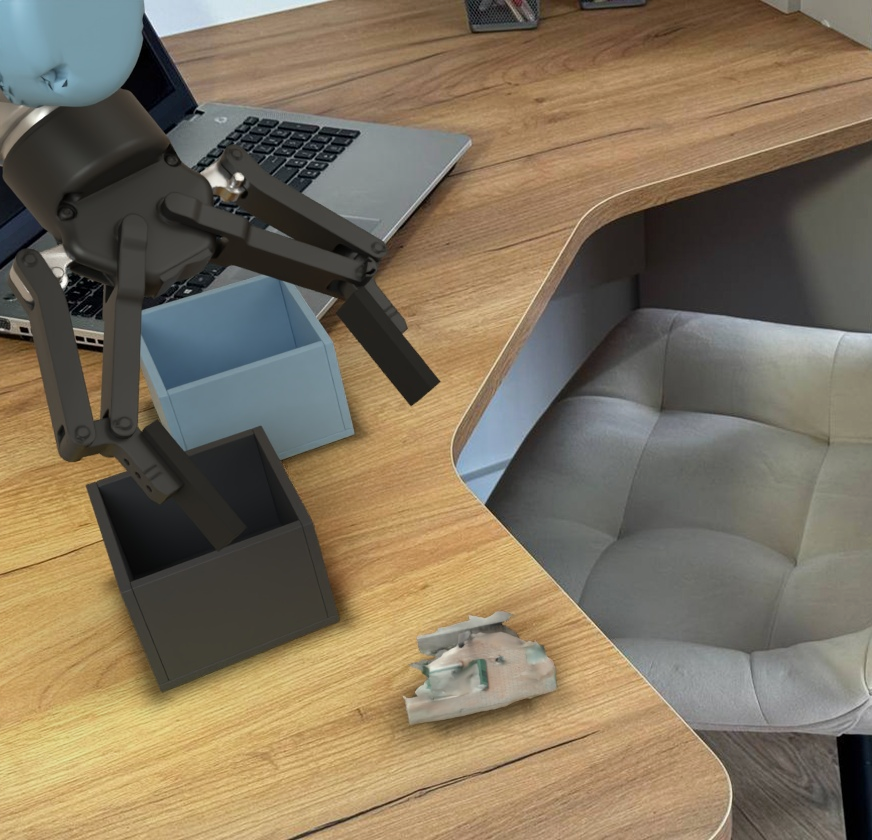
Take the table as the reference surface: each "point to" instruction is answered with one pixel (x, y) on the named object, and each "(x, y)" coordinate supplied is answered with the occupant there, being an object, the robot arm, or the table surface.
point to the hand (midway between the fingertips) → (336, 463)
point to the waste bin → (216, 563)
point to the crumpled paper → (477, 669)
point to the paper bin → (244, 367)
